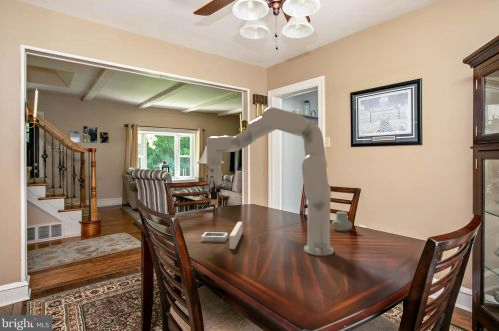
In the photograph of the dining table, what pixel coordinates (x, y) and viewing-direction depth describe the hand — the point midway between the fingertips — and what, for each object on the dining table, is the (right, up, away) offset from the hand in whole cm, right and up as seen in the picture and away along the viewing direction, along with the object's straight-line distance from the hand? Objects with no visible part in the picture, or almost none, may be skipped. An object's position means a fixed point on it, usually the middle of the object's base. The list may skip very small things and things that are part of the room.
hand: (214, 198), depth 135 cm
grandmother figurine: (0, -3, 0) cm, 3 cm away
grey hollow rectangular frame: (0, -20, +1) cm, 20 cm away
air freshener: (+69, -20, +18) cm, 74 cm away
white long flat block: (+11, -20, 0) cm, 23 cm away
